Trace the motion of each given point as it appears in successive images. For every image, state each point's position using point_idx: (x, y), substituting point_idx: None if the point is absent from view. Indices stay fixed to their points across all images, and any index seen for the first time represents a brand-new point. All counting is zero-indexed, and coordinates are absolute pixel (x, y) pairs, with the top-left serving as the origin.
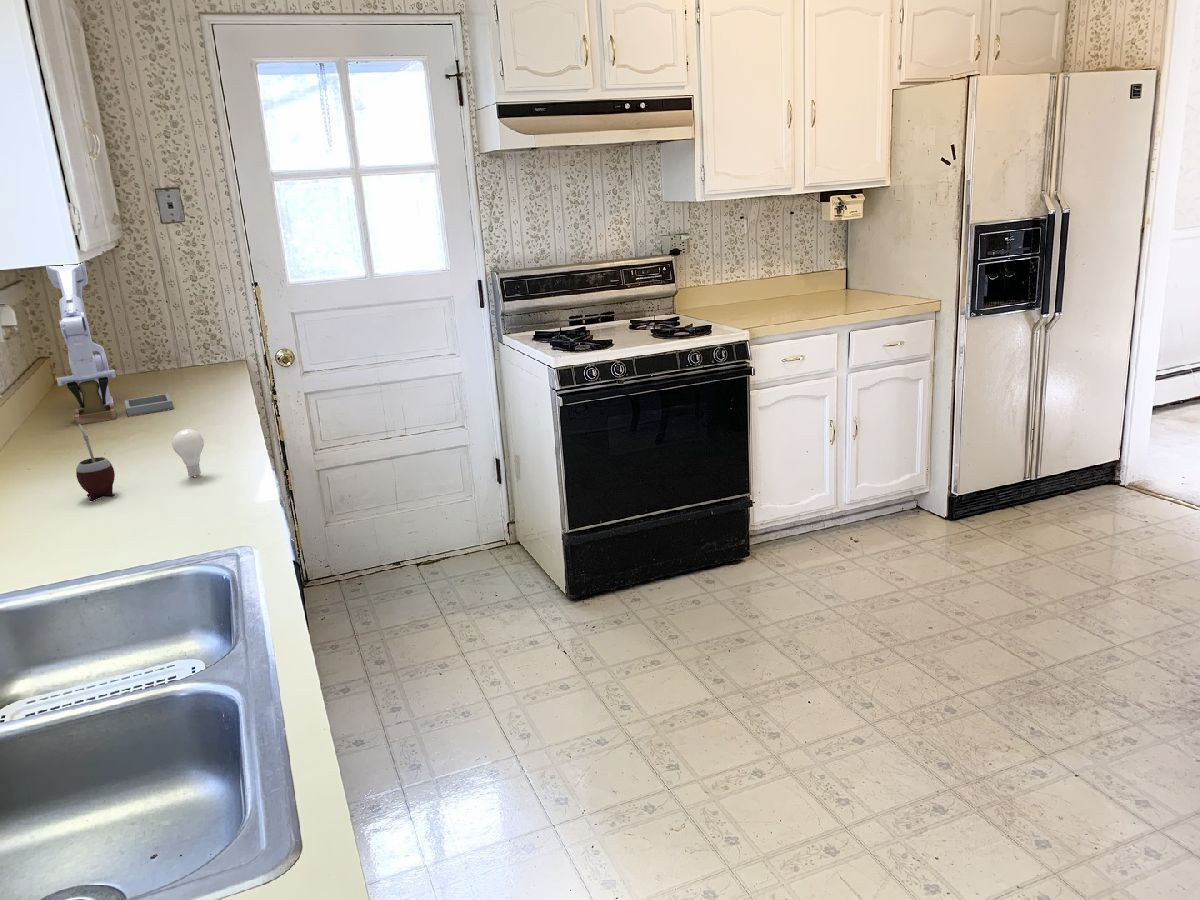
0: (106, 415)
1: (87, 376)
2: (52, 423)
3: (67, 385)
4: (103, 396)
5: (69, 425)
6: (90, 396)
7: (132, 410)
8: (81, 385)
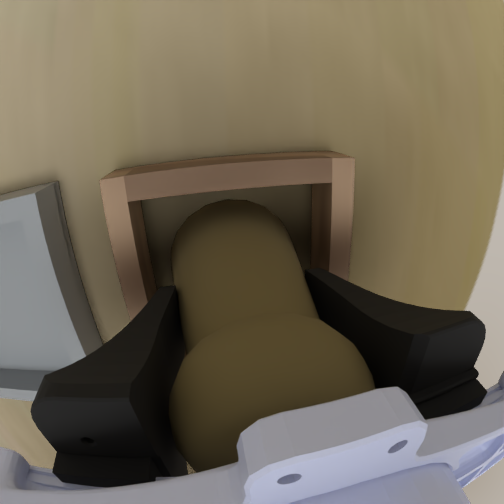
0: (160, 166)
1: (318, 460)
2: (412, 284)
3: (476, 371)
4: (151, 312)
5: (363, 187)
6: (259, 293)
7: (19, 194)
8: (362, 383)
